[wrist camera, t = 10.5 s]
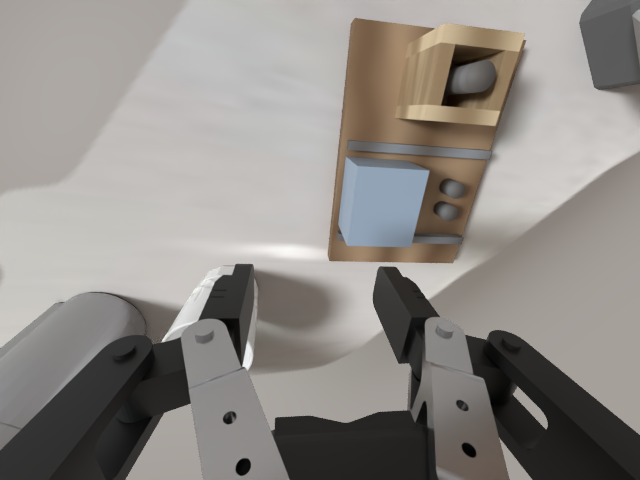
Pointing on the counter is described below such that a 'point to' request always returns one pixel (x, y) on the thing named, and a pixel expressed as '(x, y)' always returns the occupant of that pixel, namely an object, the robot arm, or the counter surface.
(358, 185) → the block
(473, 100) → the collar
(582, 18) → the alarm clock
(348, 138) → the jig board
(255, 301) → the white cup
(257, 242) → the counter surface
